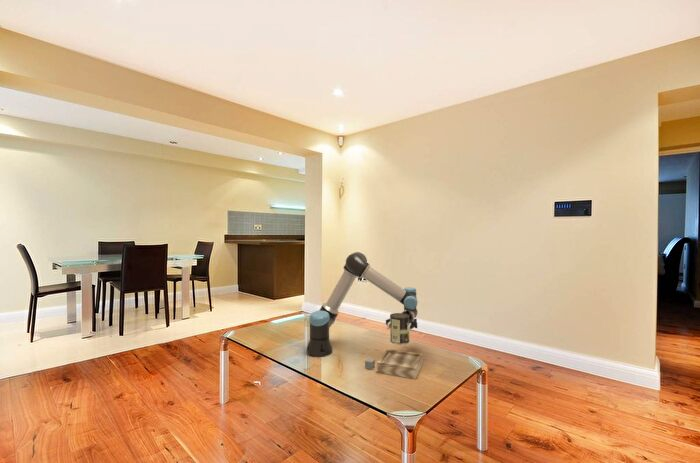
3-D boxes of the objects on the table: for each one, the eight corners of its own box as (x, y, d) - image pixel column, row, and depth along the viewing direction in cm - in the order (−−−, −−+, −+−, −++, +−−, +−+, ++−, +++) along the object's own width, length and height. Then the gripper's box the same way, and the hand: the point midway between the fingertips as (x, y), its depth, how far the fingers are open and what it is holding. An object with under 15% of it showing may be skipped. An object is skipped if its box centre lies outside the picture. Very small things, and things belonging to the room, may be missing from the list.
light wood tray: (376, 372, 162) (376, 362, 162) (387, 357, 180) (387, 348, 180) (415, 379, 154) (415, 368, 154) (422, 363, 173) (422, 353, 173)
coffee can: (409, 339, 172) (409, 313, 172) (409, 345, 162) (409, 318, 162) (390, 337, 174) (390, 312, 174) (389, 344, 164) (389, 317, 164)
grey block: (365, 368, 166) (365, 361, 166) (367, 365, 170) (367, 358, 170) (372, 369, 165) (372, 362, 165) (374, 366, 168) (374, 359, 168)
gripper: (426, 325, 180) (419, 337, 159) (388, 321, 189) (377, 332, 168) (426, 312, 180) (419, 323, 159) (388, 309, 189) (377, 318, 168)
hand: (397, 328), depth 164 cm, fingers closed on coffee can, 10 cm apart
